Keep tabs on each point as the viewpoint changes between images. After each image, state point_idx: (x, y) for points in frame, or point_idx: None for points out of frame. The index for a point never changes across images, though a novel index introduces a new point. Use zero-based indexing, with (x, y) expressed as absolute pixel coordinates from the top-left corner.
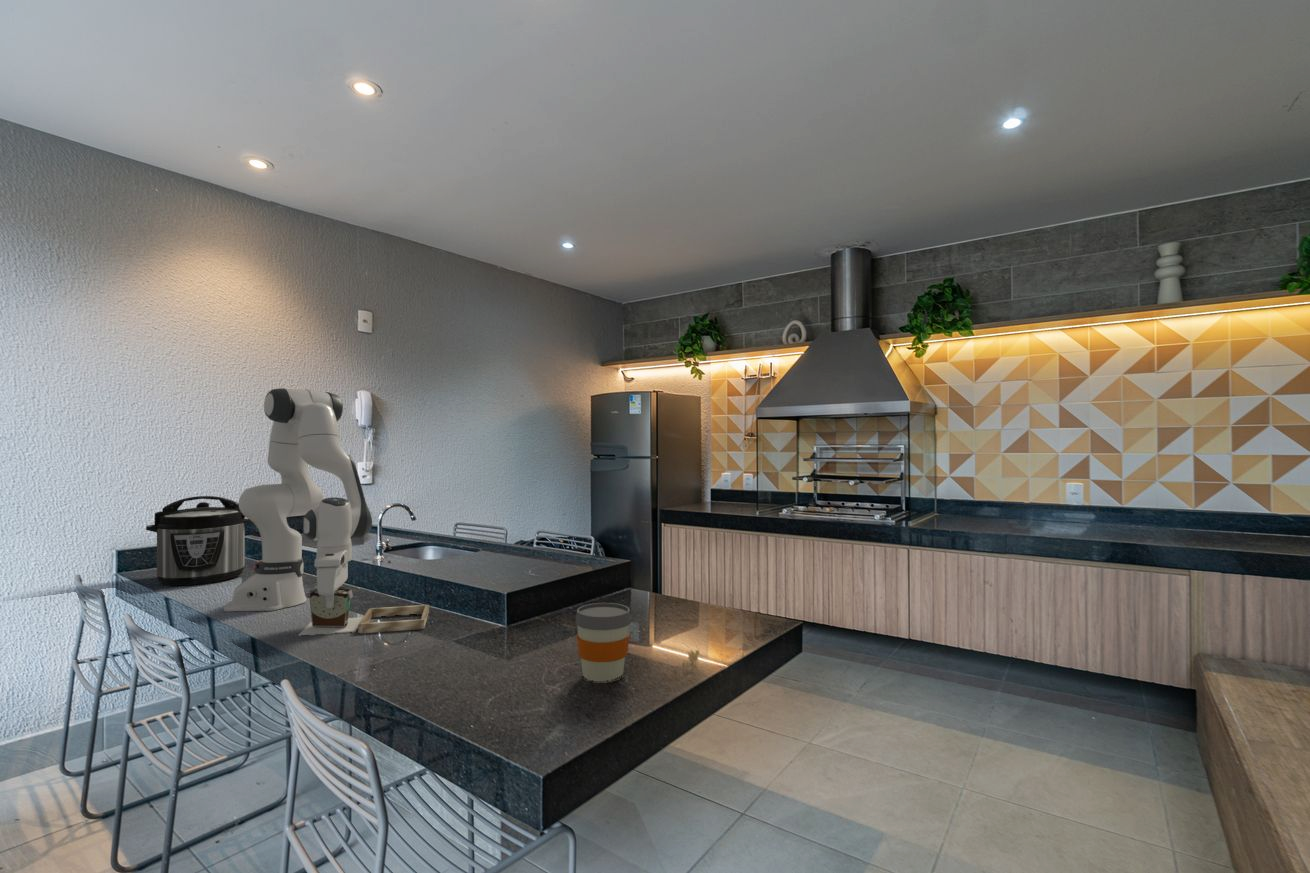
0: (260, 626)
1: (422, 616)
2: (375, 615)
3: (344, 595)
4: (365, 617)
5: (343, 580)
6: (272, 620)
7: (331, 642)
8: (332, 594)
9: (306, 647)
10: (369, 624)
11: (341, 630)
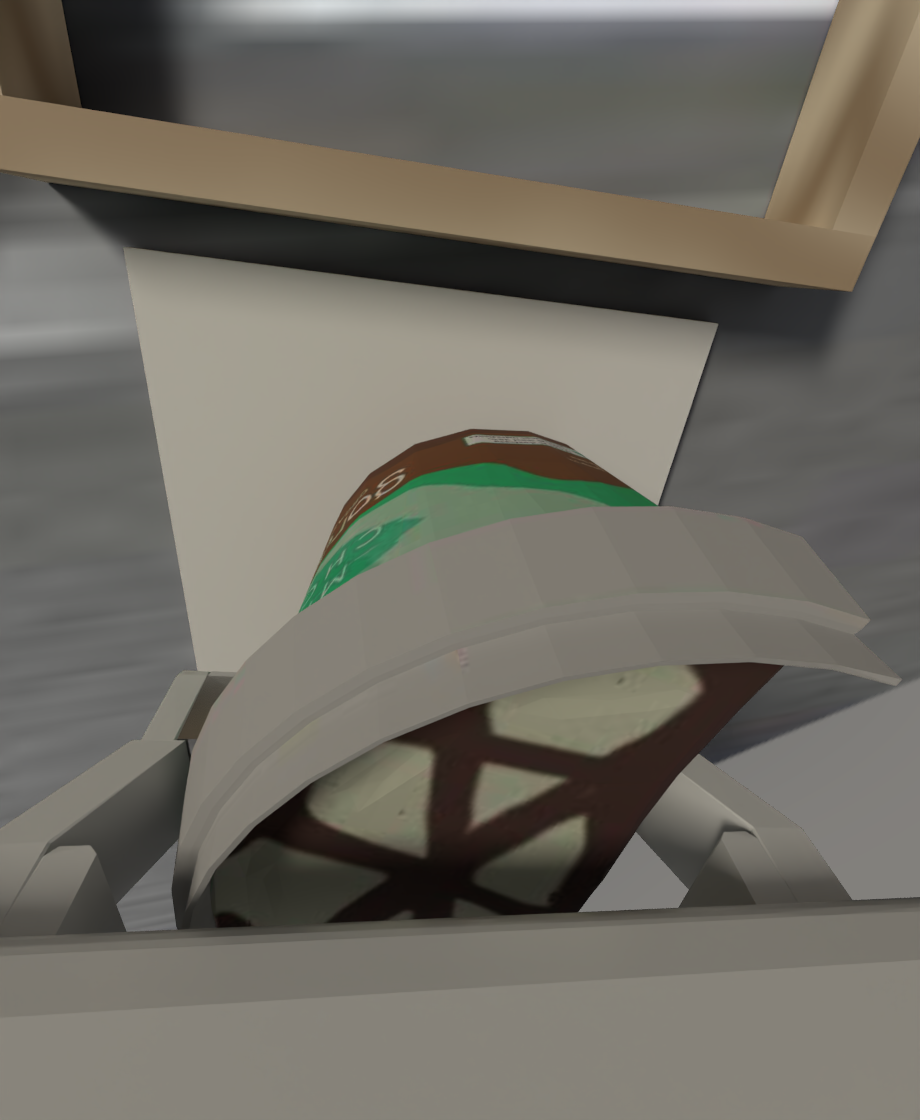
0: None
1: None
2: (60, 61)
3: (750, 676)
4: (548, 207)
5: (9, 1071)
6: (136, 885)
7: (883, 496)
8: (813, 864)
9: (874, 627)
10: (918, 126)
11: (628, 460)
